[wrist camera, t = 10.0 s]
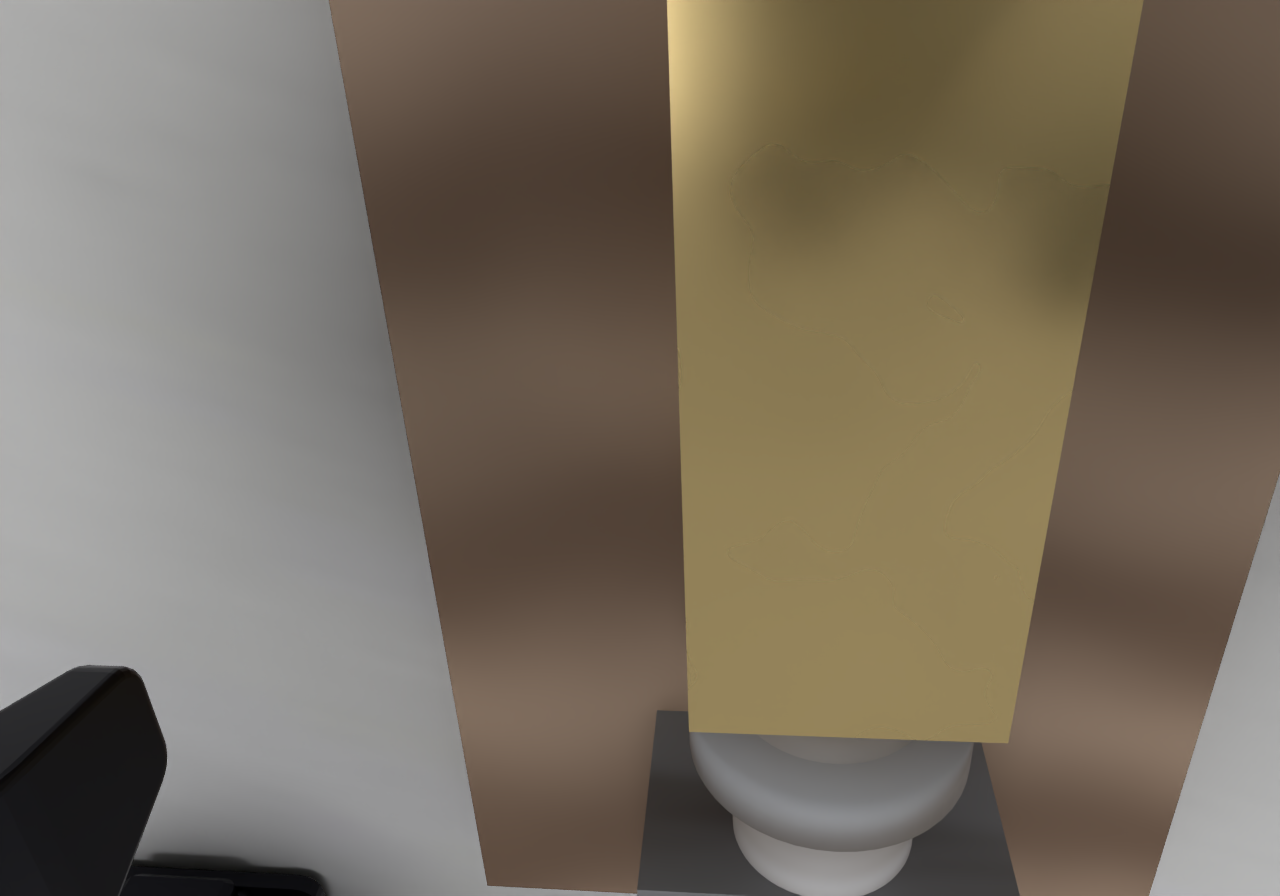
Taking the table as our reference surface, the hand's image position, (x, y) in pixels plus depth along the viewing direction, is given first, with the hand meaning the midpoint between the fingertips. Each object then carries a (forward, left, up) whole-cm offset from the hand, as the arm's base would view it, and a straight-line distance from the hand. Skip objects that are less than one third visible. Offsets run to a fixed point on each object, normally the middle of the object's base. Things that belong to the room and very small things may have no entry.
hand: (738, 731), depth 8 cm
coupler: (+1, -1, -9) cm, 9 cm away
